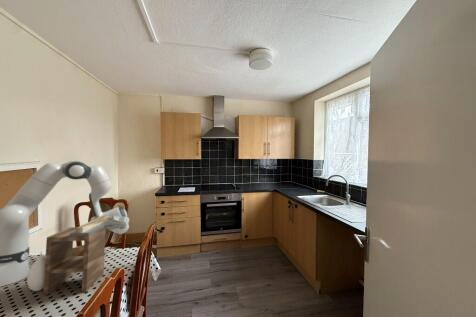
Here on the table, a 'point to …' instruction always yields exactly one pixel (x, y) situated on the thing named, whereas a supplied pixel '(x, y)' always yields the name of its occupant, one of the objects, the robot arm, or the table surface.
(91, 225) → the beech bar
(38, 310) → the table surface
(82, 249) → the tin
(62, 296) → the table surface
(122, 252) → the table surface
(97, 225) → the slate tile
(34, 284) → the sauce bottle
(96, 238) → the walnut stand
